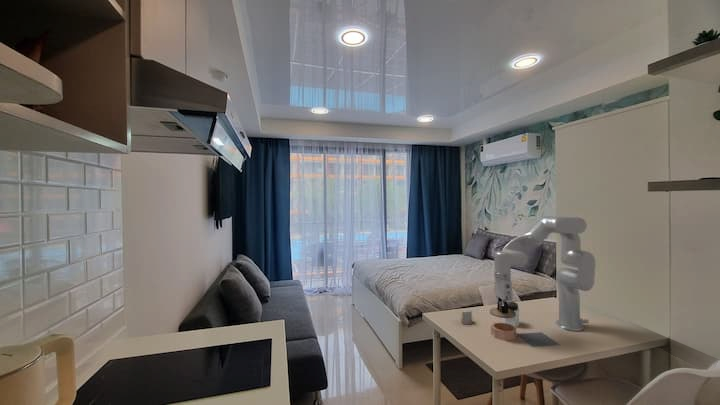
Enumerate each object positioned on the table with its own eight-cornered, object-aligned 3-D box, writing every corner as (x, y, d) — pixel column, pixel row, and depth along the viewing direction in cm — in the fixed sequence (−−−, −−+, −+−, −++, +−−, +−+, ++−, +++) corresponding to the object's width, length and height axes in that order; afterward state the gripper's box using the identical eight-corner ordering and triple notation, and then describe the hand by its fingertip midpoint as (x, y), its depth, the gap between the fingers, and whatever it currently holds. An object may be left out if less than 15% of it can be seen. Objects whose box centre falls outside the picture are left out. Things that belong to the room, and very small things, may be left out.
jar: (512, 329, 165) (512, 307, 165) (498, 324, 172) (498, 303, 172) (521, 325, 170) (521, 303, 170) (507, 320, 177) (507, 299, 177)
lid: (507, 308, 164) (507, 297, 164) (520, 317, 152) (520, 305, 152) (485, 309, 163) (485, 298, 163) (497, 318, 151) (497, 306, 151)
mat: (541, 333, 160) (541, 332, 160) (560, 346, 146) (560, 345, 146) (515, 334, 159) (515, 333, 159) (532, 348, 145) (532, 346, 145)
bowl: (508, 331, 164) (507, 321, 163) (520, 340, 153) (520, 330, 152) (487, 332, 163) (487, 323, 163) (498, 342, 152) (498, 332, 152)
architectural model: (459, 322, 177) (459, 309, 177) (471, 321, 178) (470, 309, 178) (462, 325, 174) (461, 312, 174) (473, 324, 175) (473, 311, 174)
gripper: (518, 279, 149) (519, 317, 149) (501, 271, 166) (501, 305, 166) (503, 280, 149) (504, 318, 149) (487, 272, 165) (487, 306, 165)
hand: (502, 311), depth 157 cm, fingers closed on lid, 3 cm apart
